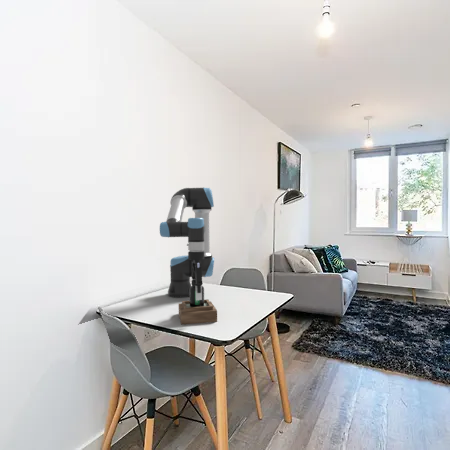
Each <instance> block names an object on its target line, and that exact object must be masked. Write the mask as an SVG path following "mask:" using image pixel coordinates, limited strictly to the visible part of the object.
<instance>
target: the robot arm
mask: <svg viewBox="0 0 450 450" xmlns="http://www.w3.org/2000/svg"><path fill="white" fill-rule="evenodd" d="M214 207H215V206H214V198H213V191H212V189H211V188H210V187H185V188H181V189H179V190H178V191H176V192H175V193H174V194H173V195H172V196H171V199H170V207H169V212H168V215H167V217H166V221H162V222H160V224H159V234H160V236H161V237H162V238H187V242H188V243H187V244H186V246H187V249H188V250H187V251H188V252H187V255H179V256H175V257H172V258H171V259H170V265H169V268H170V284H169V287H168V290H167V296H169V297H170V298H185V297H190V296H189V289H190V287H191V286H192V285H191V283H192V282H191V280H196V284H195V285H194V286H196V300H202V286H203V278H207V277H208V278H209V277H212V276H213V273H214V265H215V257H213V254H212V253H211V251H210V248H211V247H210V212H211V211H212V208H214ZM186 208H191V209H192V212H194V217H189V218H188V219H187V221H182V220H183V216H184V210H185V209H186ZM190 278H191V279H190Z"/></svg>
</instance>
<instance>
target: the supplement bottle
mask: <svg viewBox="0 0 450 450" xmlns="http://www.w3.org/2000/svg"><path fill="white" fill-rule="evenodd" d="M190 283H191V287H190V289H189V296H188V297H189V301H190V307H202V306H204V300H205V287H204V286H203V285H202V300H196V286H194V285H195V284H196V280H193V279H191V282H190Z"/></svg>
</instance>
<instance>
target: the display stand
mask: <svg viewBox="0 0 450 450" xmlns="http://www.w3.org/2000/svg"><path fill="white" fill-rule="evenodd" d="M178 317H179V321H180V324H181V325H182V326H183V325H192V324H203V323H205V324H206V323H216V322H218V310H217V308H216V306H215V305H214V304H213V302H212V301H211V300H210V299H204V306H202V307H190V300H182V301H181V302H180V303H178Z"/></svg>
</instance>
